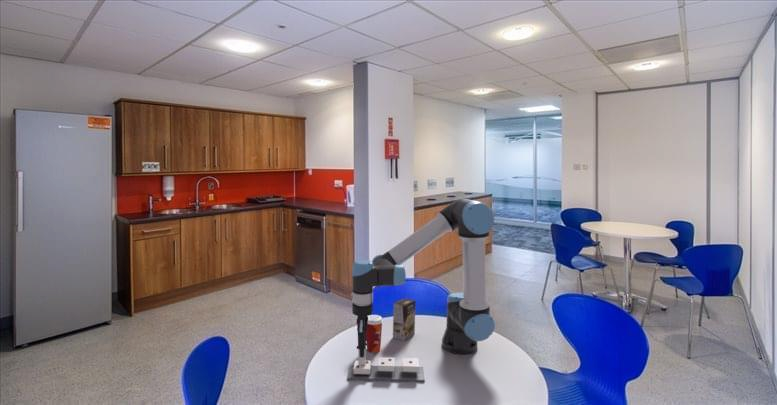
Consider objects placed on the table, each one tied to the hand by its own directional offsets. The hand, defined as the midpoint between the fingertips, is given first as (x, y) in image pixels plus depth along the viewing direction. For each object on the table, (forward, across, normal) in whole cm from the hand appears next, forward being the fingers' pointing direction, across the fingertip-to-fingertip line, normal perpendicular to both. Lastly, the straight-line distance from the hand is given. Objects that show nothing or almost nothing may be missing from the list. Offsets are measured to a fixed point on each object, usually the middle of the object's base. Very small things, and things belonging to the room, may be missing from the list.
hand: (362, 363), depth 144 cm
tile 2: (+1, 0, +9) cm, 9 cm away
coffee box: (+4, -33, +16) cm, 37 cm away
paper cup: (+4, -19, +3) cm, 20 cm away
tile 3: (+2, 0, 0) cm, 2 cm away
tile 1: (+1, 0, +18) cm, 18 cm away
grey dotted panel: (+4, 0, +9) cm, 10 cm away
